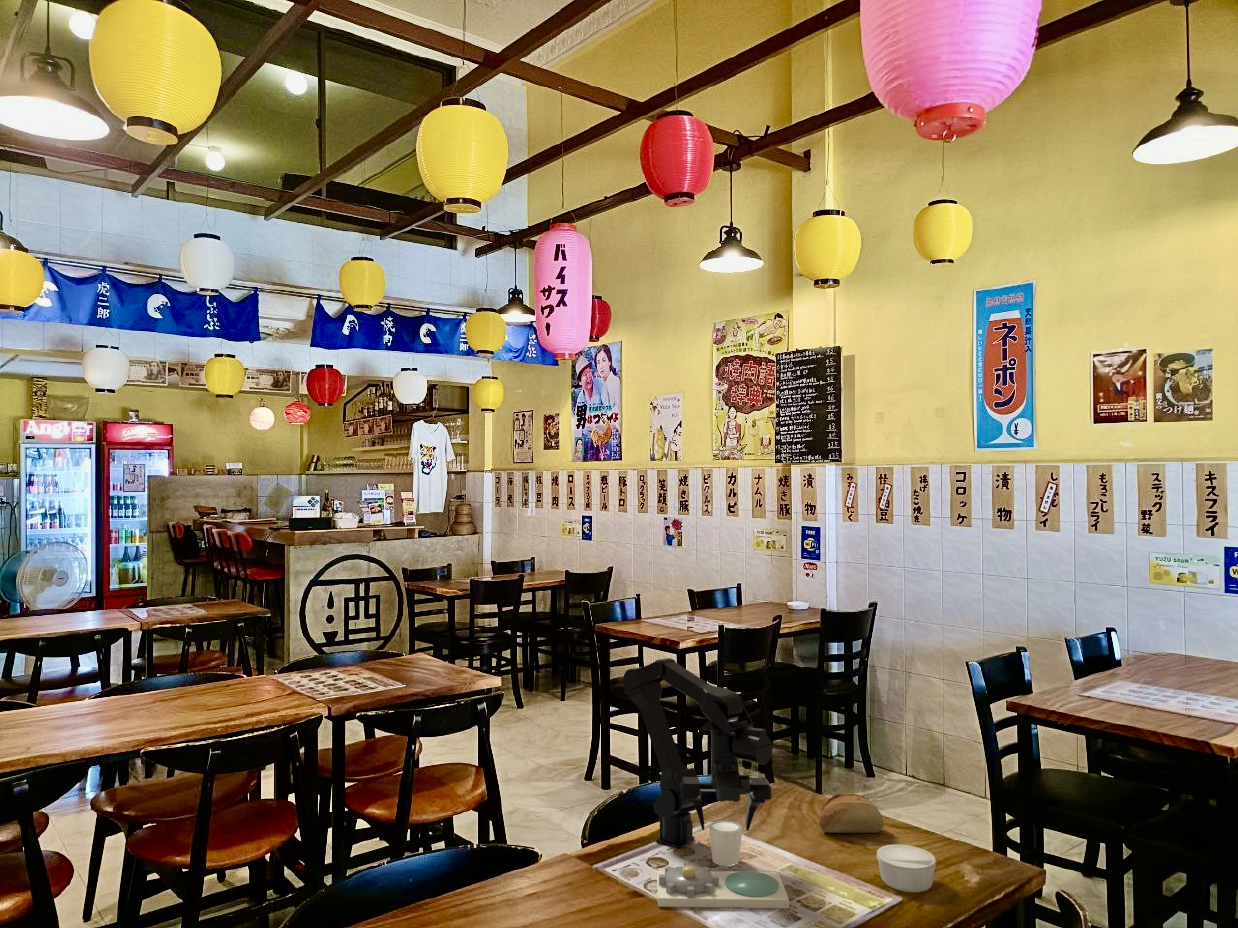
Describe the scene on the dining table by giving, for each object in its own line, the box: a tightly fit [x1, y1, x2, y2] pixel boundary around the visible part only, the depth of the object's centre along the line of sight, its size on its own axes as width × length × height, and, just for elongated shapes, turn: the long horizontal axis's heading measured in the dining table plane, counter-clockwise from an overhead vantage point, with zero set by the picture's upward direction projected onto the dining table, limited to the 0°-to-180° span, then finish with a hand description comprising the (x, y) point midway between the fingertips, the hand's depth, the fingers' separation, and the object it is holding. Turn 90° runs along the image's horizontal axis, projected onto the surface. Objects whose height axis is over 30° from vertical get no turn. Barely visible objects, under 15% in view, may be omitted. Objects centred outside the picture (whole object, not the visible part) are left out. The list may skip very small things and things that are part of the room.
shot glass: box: [708, 820, 743, 867], centre depth 174 cm, size 7×7×7 cm
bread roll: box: [819, 792, 885, 834], centre depth 191 cm, size 10×15×8 cm, turn 99°
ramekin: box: [876, 844, 937, 893], centre depth 164 cm, size 11×11×5 cm
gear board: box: [656, 863, 790, 909], centre depth 159 cm, size 24×12×4 cm, turn 89°
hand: (725, 829), depth 174 cm, fingers open, 9 cm apart
